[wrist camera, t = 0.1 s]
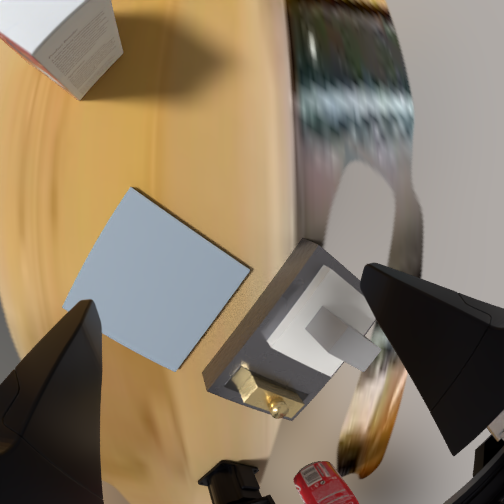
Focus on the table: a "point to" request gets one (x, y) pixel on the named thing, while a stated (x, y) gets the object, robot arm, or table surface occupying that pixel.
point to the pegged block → (270, 397)
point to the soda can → (322, 485)
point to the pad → (155, 281)
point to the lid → (327, 326)
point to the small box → (63, 39)
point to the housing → (264, 324)
